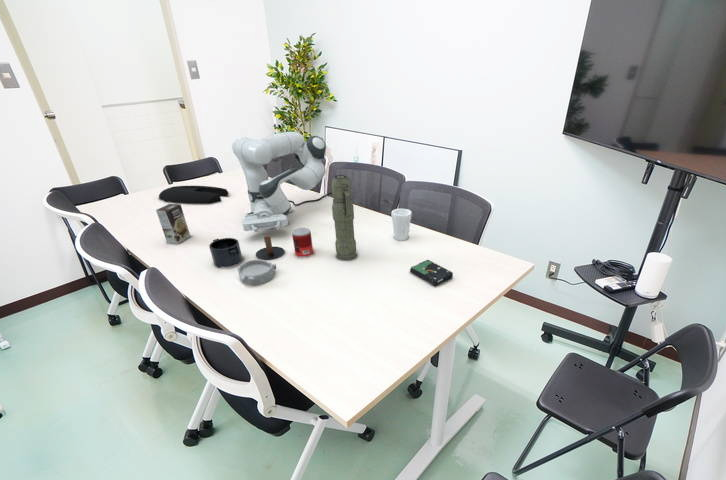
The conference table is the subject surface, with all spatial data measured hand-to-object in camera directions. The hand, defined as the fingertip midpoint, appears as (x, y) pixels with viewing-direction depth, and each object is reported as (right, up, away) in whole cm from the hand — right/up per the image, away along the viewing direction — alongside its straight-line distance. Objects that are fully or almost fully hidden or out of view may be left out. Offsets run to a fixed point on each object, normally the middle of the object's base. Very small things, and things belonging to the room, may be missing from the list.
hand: (266, 229), depth 178 cm
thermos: (+37, -13, -5) cm, 40 cm away
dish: (+4, -24, -21) cm, 32 cm away
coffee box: (-44, -4, +8) cm, 45 cm away
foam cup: (+62, -2, +12) cm, 63 cm away
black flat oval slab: (-64, +30, +58) cm, 91 cm away
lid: (+3, -12, -5) cm, 13 cm away
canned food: (+18, -12, -4) cm, 22 cm away
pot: (-13, -16, -11) cm, 23 cm away
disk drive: (+74, -23, -19) cm, 80 cm away
